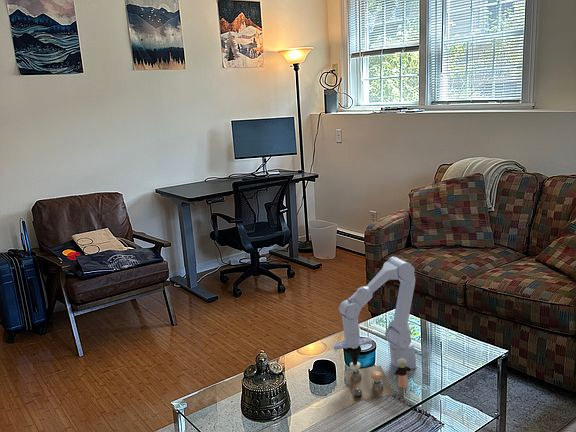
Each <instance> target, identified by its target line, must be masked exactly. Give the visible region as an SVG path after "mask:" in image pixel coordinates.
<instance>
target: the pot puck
mask: <svg viewBox="0 0 576 432" xmlns="http://www.w3.org/2000/svg"><path fill="white" fill-rule="evenodd" d="M354 396H355V397H356V398H360V397H362V390H361V389H359V388H356V389H355V390H354Z"/></svg>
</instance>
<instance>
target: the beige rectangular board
mask: <svg viewBox="0 0 576 432" xmlns="http://www.w3.org/2000/svg"><path fill="white" fill-rule="evenodd" d="M374 371H380V372H381V373H382V379H380V380H379V383H378V384H377V383H375V380H374V379H372V378H371V373H372V372H374ZM343 374H344V377H345V380H346V382H347V385H348V387H349V391H350V394H351V395H352V398H353V399H354V400H353V401H354V402H359V401H364V400H369V399H370V400H371V399H374V398H382V397H387V396H392V395H396V393H395V390H394V389H393V386H392V384H391V382H390V380H389V379H388V377H387V375H386V373H385V371H384V369H383V368H382V365H380V364H379V365H375V366H369V367H364V368H360V369H358V373H354V370H352V369H351V370H348V371H346V370H345V371H343ZM356 388H359V389H361V390H362V397H360V398H356V397H355V396H354V390H355V389H356Z"/></svg>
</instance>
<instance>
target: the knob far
mask: <svg viewBox="0 0 576 432" xmlns="http://www.w3.org/2000/svg"><path fill="white" fill-rule="evenodd" d="M349 368H350V369H351V370H354V373H358V369H361V362H359V361H357V365H353V362H352V361H351V362H350V363H349Z"/></svg>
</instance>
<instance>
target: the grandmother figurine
mask: <svg viewBox="0 0 576 432" xmlns="http://www.w3.org/2000/svg"><path fill="white" fill-rule="evenodd" d="M397 363H398V365H399V367H397V368H396V369H395V372H394V374H393V376H392V379H393V380H396V379H397V387H398V388H403V389H408V388H409V382H408V373H409V374H410V375H411V374H413V371H412V369H411V368H409V367H407V366H406V363H407V361H406V360H405V359H403V358H400V359H398V361H397ZM407 372H408V373H407Z"/></svg>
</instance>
